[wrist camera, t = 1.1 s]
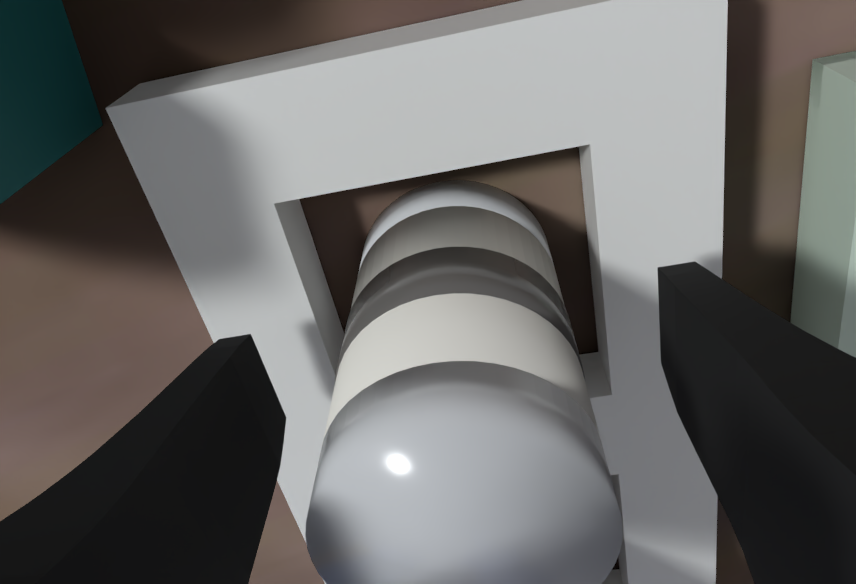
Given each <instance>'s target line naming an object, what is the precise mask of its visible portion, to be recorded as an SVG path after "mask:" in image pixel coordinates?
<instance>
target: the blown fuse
mask: <svg viewBox="0 0 856 584" xmlns="http://www.w3.org/2000/svg"><path fill="white" fill-rule="evenodd" d="M305 536H306V543H307V549H308V552H309V554H310V557H311V560H312V562H313V564H314V566H315V568H316V569H317V571H318V573H319V575H320V576H321V577H322V578H323V580H324V581H325V582H326V583H327V584H601V583H602V582H603V581H604V580H605V579H606V578H607V576H608V575H609V573H610V572H611V570H612V568H613V567H614V565H615V563H616V560H617V558H618V556H619V553H620V549H621V545H622V540H623V523H622V518H621V513H620V509H619V505H618V501H617V497H616V494H615V490H614V486H613V483H612V479H611V475H610V472H609V468H608V464H607V460H606V457H605V453H604V449H603V446H602V442H601V438H600V435H599V431H598V427H597V423H596V420H595V416H594V412H593V409H592V405H591V401H590V397H589V394H588V390H587V386H586V383H585V376H584V371H583V367H582V363H581V359H580V356H579V352H578V348H577V345H576V341H575V337H574V334H573V330H572V326H571V323H570V319H569V316H568V313H567V310H566V308H565V305H564V301H563V297H562V294H561V290H560V286H559V283H558V279H557V275H556V272H555V268H554V264H553V260H552V257H551V253H550V249H549V246H548V242H547V239H546V236H545V234H544V231H543V229H542V227H541V225H540V224H539V222H538V220H537V219H536V218H535V216H534V215H533V214H532V212H531V211H530V210H529V209H528V208H527V207H526V206H525V205H524V204H523V203H521V202H520V201H519V200H517V199H516V198H515V197H513V196H512V195H510V194H508V193H506V192H504V191H503V190H500V189H498V188H495V187H493V186H490V185H487V184H483V183H479V182H473V181H465V180H449V181H441V182H435V183H431V184H427V185H424V186H421V187H419V188H416V189H413V190H411V191H409V192H408V193H406V194H404V195H402V196H401V197H399V198H398V199H396V200H395V201H394V202H392V203H391V204H390V205H389V206H388V207H387V208H386V209H385V210H384V211H383V212H382V213H381V214H380V215H379V217H378V218H377V219H376V220H375V222H374V224H373V226H372V227H371V229H370V231H369V233H368V236H367V238H366V241H365V245H364V249H363V254H362V258H361V263H360V268H359V273H358V277H357V282H356V287H355V292H354V296H353V301H352V306H351V311H350V313H349V316H348V320H347V324H346V329H345V333H344V338H343V343H342V348H341V352H340V357H339V362H338V366H337V371H336V376H335V385H334V391H333V396H332V401H331V405H330V410H329V415H328V420H327V424H326V429H325V434H324V439H323V443H322V448H321V453H320V458H319V462H318V467H317V472H316V477H315V481H314V486H313V491H312V495H311V500H310V505H309V510H308V514H307V519H306V533H305Z"/></svg>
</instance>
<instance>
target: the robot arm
mask: <svg viewBox="0 0 856 584" xmlns="http://www.w3.org/2000/svg"><path fill="white" fill-rule="evenodd" d="M658 296H659V324H660V352H661V365H662V368H663V371H664V374H665V377H666V380H667V383H668V387H669V390H670V393H671V396H672V399H673V401H674V404H675V407H676V410H677V413H678V415H679V417H680V419H681V421H682V424H683V426H684V428H685V430H686V432H687V434H688V436H689V438H690V440H691V442H692V444H693V447H694V449H695V451H696V453H697V455H698V457H699V459H700V461H701V463H702V465H703V467H704V469H705V471H706V473H707V475H708V477H709V479H710V481H711V483H712V485H713V487H714V490H715V492H716V494H717V496H718V498H719V500H720V502H721V504H722V506H723V508H724V510H725V512H726V514H727V516H728V518H729V520H730V522H731V524H732V527H733V529H734V531H735V534H736V536H737V538H738V541H739V543H740V545H741V548H742V550H743V553H744V555H745V558H746V561H747V564H748V566H749V569H750V572H751V575H752V577H753V580H754V583H755V584H856V358H855V357H853V356H851V355H849V354H847V353H845V352H843V351H841V350H839V349H837V348H835V347H834V346H832V345H830V344H828V343H826V342H824V341H822V340H821V339H819V338H817V337H815V336H813V335H811V334H809V333H808V332H806V331H804V330H802V329H800V328H799V327H797V326H795V325H794V324H792V323H790V322H788V321H787V320H785V319H783V318H782V317H780V316H778V315H777V314H775V313H773V312H772V311H770V310H769V309H767V308H765V307H764V306H762V305H761V304H759V303H757V302H756V301H754V300H753V299H751V298H750V297H748V296H747V295H745V294H744V293H742V292H741V291H739V290H738V289H736V288H735V287H733V286H731V285H730V284H728V283H727V282H726V281H724V280H723V279H721V278H720V277H718V276H717V275H715V274H714V273H712V272H711V271H709V270H708V269H706V268H705V267H703V266H702V265H700V264H698V263H697V262H695V261H694V262H688V263H682V264H676V265H670V266H664V267H658ZM285 425H286V415H285V413H284V411H283V408H282V406H281V404H280V401H279V399H278V397H277V394H276V392H275V390H274V387H273V385H272V383H271V380H270V378H269V376H268V373H267V371H266V368H265V366H264V364H263V361H262V359H261V357H260V354H259V352H258V350H257V347H256V345H255V343H254V340H253V338H252V336H251V334H247V335H241V336H235V337H229V338H223V339H219V340H217V341H216V342H215V343H214V344H212V345H211V346H210V347H209V348H208V349H207V350H205V351H204V352H203V353H202V354H201V355H200V356H199V357H198V358H197V359H196V360H194V361H193V362H192V363H191V364H190V365H189V366H188V367H187V368H186V369H185V370H184V371H183V372H182V373H181V374H180V375H179V376H178V377H177V378H176V379H175V380H173V381H172V382H171V383H170V384H169V385H168V386H167V387H166V388H165V389H164V390H163V391H162V392H161V393H160V394H159V395H158V396H157V397H156V398H155V399H153V400H152V401H151V402H150V403H149V404H148V405H147V406H146V407H145V408H144V409H143V410H142V411H141V412H140V413H139V414H138V415H136V416H135V417H134V418H133V419H132V420H131V421H130V422H128V423H127V424H126V425H125V426H124V427H123V428H122V429H121V430H119V431H118V432H117V433H116V434H115V435H114V436H113V437H111V438H110V439H109V440H108V441H107V442H106V443H105V444H104V445H102V446H101V447H100V448H99V449H98V450H97V451H96V452H94V453H93V454H92V455H91V456H90V457H88V458H87V459H86V460H85V461H83V462H82V463H81V464H80V465H78V466H77V467H76V468H75V469H73V470H72V471H71V472H70V473H68V474H67V475H66V476H64V477H63V478H62V479H60V480H59V481H58V482H56V483H55V484H54V485H52V486H51V487H50V488H48V489H47V490H46V491H44V492H43V493H42V494H40V495H39V496H37V497H36V498H35V499H33V500H32V501H30V502H29V503H28V504H26V505H25V506H23V507H21V508H20V509H18V510H17V511H15V512H14V513H12V514H11V515H9V516H8V517H6V518H5V519H3V520H2V521H0V584H248V583H249V578H250V575H251V571H252V568H253V564H254V560H255V557H256V553H257V550H258V546H259V543H260V539H261V535H262V532H263V528H264V525H265V521H266V518H267V514H268V511H269V507H270V503H271V500H272V496H273V492H274V488H275V485H276V481H277V477H278V473H279V469H280V465H281V458H282V451H283V443H284V434H285Z"/></svg>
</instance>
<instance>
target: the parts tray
mask: <svg viewBox="0 0 856 584" xmlns="http://www.w3.org/2000/svg"><path fill="white" fill-rule="evenodd" d="M790 323H792V324H794V325H795V326H797V327H799V328H800V329H802V330H804V331H806V332H808V333H809V334H811V335H813V336H815V337H817V338H819V339H821V340H822V341H824V342H826V343H828V344H830V345H832V346H834V347H835V348H837V349H839V350H841V351H843V352H845V353H847V354H849V355H851V356H853V357H855V358H856V51H853V52H848V53H842V54H837V55H832V56H827V57H822V58H817V59H813V62H812V74H811V86H810V98H809V109H808V121H807V133H806V144H805V156H804V168H803V180H802V191H801V203H800V215H799V226H798V238H797V250H796V262H795V273H794V285H793V297H792V308H791V320H790Z"/></svg>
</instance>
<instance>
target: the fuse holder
mask: <svg viewBox="0 0 856 584" xmlns="http://www.w3.org/2000/svg"><path fill="white" fill-rule="evenodd" d="M727 12H728V0H522V1H518V2H513V3H509V4H504V5H499V6H495V7H490V8H486V9H481V10H476V11H472V12H467V13H462V14H458V15H453V16H449V17H444V18H439V19H435V20H430V21H426V22H421V23H416V24H412V25H407V26H403V27H398V28H393V29H389V30H384V31H379V32H375V33H370V34H366V35H361V36H356V37H352V38H347V39H343V40H338V41H333V42H329V43H324V44H320V45H315V46H310V47H306V48H301V49H296V50H292V51H287V52H283V53H278V54H273V55H269V56H264V57H260V58H255V59H250V60H246V61H241V62H236V63H232V64H227V65H223V66H218V67H213V68H209V69H204V70H200V71H195V72H190V73H186V74H181V75H177V76H172V77H167V78H163V79H158V80H153V81H149V82H144V83H140V84H138V85H137V86H135V87H134V88H133V89H131V90H130V91H129V92H127V93H126V94H124V95H123V96H122V97H120V98H119V99H117V100H116V101H115V102H113V103H112V104H111V105H109V106H108V107H106V108H105V109H106V111H107V113H108V115H109V117H110V119H111V122H112V124H113V126H114V128H115V130H116V132H117V135H118V137H119V139H120V141H121V143H122V145H123V148H124V150H125V152H126V154H127V156H128V158H129V161H130V163H131V165H132V167H133V169H134V171H135V174H136V176H137V178H138V180H139V182H140V184H141V187H142V189H143V191H144V193H145V195H146V197H147V199H148V202H149V204H150V206H151V208H152V210H153V212H154V215H155V217H156V219H157V221H158V223H159V225H160V228H161V230H162V232H163V234H164V236H165V238H166V241H167V243H168V245H169V247H170V249H171V251H172V254H173V256H174V258H175V260H176V262H177V264H178V267H179V269H180V271H181V273H182V275H183V277H184V280H185V282H186V284H187V286H188V288H189V290H190V293H191V295H192V297H193V299H194V301H195V303H196V306H197V308H198V310H199V312H200V314H201V316H202V319H203V321H204V323H205V325H206V327H207V329H208V332H209V334H210V336H211V338H212V340H213V342H214V343H215V342H216V341H217V340H219V339H223V338H229V337H235V336H241V335H247V334H251V336H252V338H253V340H254V343H255V345H256V347H257V350H258V352H259V354H260V357H261V359H262V361H263V364H264V366H265V368H266V371H267V373H268V376H269V378H270V380H271V383H272V385H273V387H274V390H275V392H276V394H277V397H278V399H279V401H280V404H281V406H282V408H283V411H284V413H285V415H286V425H285V434H284V443H283V451H282V458H281V465H280V469H279V473H278V477H277V481H278V483H279V485H280V487H281V489H282V492H283V494H284V496H285V498H286V500H287V502H288V505H289V507H290V509H291V511H292V513H293V515H294V518H295V520H296V522H297V524H298V526H299V528H300V531H301V533H302V535H303V537H304V539H305V541H306V536H305V533H306V519H307V514H308V510H309V505H310V500H311V495H312V491H313V486H314V481H315V477H316V472H317V467H318V462H319V458H320V453H321V448H322V443H323V439H324V434H325V429H326V424H327V420H328V415H329V410H330V405H331V401H332V396H333V391H334V385H335V376H336V371H337V366H338V362H339V357H340V352H341V348H342V343H343V338H344V331H343V328H342V325H341V322H340V319H339V317H338V314H337V311H336V308H335V305H334V302H333V299H332V296H331V293H330V290H329V287H328V284H327V281H326V278H325V275H324V272H323V269H322V266H321V263H320V260H319V257H318V254H317V251H316V248H315V245H314V242H313V239H312V236H311V233H310V230H309V227H308V224H307V221H306V218H305V215H304V212H303V209H302V206H301V203H300V200H299V199H301V198H306V197H312V196H317V195H322V194H328V193H333V192H338V191H344V190H349V189H354V188H360V187H365V186H370V185H376V184H381V183H386V182H392V181H397V180H402V179H408V178H413V177H418V176H424V175H429V174H434V173H440V172H445V171H450V170H456V169H461V168H466V167H472V166H477V165H482V164H488V163H493V162H498V161H504V160H509V159H514V158H520V157H525V156H530V155H535V154H541V153H546V152H551V151H557V150H562V149H567V148H573V147H578V146H579V155H580V166H581V176H582V186H583V197H584V207H585V217H586V228H587V238H588V248H589V259H590V269H591V280H592V290H593V300H594V311H595V321H596V331H597V342H598V352H594V353H588V354H581V355H579V356H580V359H581V363H582V367H583V371H584V376H585V383H586V386H587V390H588V394H589V397H590V401H591V405H592V409H593V412H594V416H595V420H596V423H597V427H598V431H599V435H600V438H601V442H602V446H603V449H604V453H605V457H606V460H607V464H608V468H609V472H610V475H611V479H612V483H613V486H614V490H615V494H616V497H617V501H618V505H619V509H620V513H621V518H622V523H623V540H622V545H621V549H620V553H619V556H618V559H619V569H616V570H611V572H610V573H609V575H608V576H607V578H606V579H605V580H604V581H603V582H602V583H601V584H716V544H717V494H716V492H715V490H714V487H713V485H712V483H711V481H710V479H709V477H708V475H707V473H706V471H705V469H704V467H703V465H702V463H701V461H700V459H699V457H698V455H697V453H696V451H695V449H694V447H693V444H692V442H691V440H690V438H689V436H688V434H687V432H686V430H685V428H684V426H683V424H682V421H681V419H680V417H679V415H678V413H677V410H676V407H675V404H674V401H673V399H672V396H671V393H670V390H669V387H668V383H667V380H666V377H665V374H664V371H663V368H662V365H661V352H660V324H659V296H658V267H664V266H670V265H676V264H682V263H688V262H694V261H695V262H697V263H698V264H700V265H702V266H703V267H705V268H706V269H708V270H709V271H711V272H712V273H714V274H715V275H717V276H718V277H720V278H721V279H722V254H723V206H724V157H725V109H726V60H727ZM306 544H307V543H306ZM324 583H325V584H327V583H326V582H325V581H324Z"/></svg>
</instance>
